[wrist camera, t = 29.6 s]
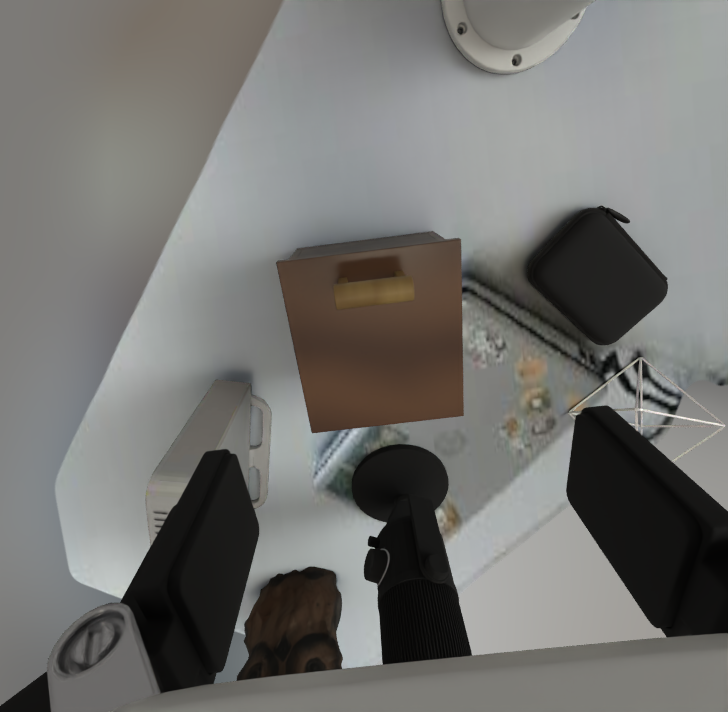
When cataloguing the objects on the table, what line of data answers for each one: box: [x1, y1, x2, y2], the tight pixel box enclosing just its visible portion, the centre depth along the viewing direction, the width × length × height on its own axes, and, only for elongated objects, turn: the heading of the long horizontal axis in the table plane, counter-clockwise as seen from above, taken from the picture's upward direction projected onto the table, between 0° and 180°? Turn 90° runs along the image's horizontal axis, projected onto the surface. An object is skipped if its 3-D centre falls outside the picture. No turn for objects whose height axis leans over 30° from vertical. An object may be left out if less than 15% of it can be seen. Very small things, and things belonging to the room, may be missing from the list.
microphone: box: [352, 445, 472, 665], centre depth 44 cm, size 14×14×25 cm
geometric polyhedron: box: [569, 357, 725, 462], centre depth 46 cm, size 12×11×9 cm
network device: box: [146, 380, 272, 545], centre depth 43 cm, size 26×9×20 cm, turn 172°
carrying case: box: [527, 206, 668, 345], centre depth 42 cm, size 11×3×15 cm
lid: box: [276, 238, 464, 433], centre depth 32 cm, size 16×15×6 cm
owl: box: [237, 567, 343, 681], centre depth 55 cm, size 13×13×20 cm
